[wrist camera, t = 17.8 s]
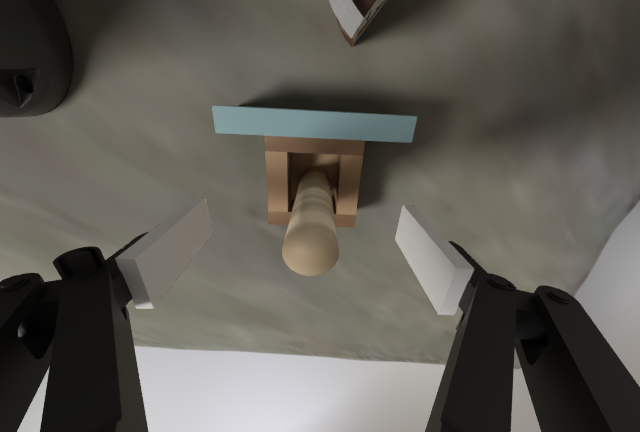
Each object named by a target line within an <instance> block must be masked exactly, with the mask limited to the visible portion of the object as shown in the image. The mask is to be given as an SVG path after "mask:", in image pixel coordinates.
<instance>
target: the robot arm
mask: <svg viewBox="0 0 640 432" xmlns="http://www.w3.org/2000/svg"><path fill="white" fill-rule="evenodd" d="M71 72H72V59H71V50H70V45H69V41H68V37H67V33H66V30H65V27H64V24H63V22H62V19H61V17H60V14H59V12H58V10H57V8H56V6H55V4H54V2H53V0H0V117H28V116H36V115H40V114H43V113H46V112H48V111H50V110H51V109H53V108H54V107H55V106H57V105H58V104H59V103H60V101H61V100H62V99H63V97H64V96H65V94H66V92H67V90H68V87H69V84H70V79H71ZM212 234H213V232H212V226H211V221H210V216H209V210H208V205H207V199H206V197H193V198H192V199H191V200H190V201H188V202H187V203H186V204H184V205H183V206H182V207H181V208H179V209H178V210H177V211H175V212H174V213H173V214H172V215H170V216H169V217H168V218H166V219H165V220H164V221H163V222H161V223H160V224H159V225H157V226H156V227H155V228H154V229H152V230H151V231H150V232H146V233H144V234H142V235H140V236H138V237H136V238H135V239H133V240H132V241H131V242H129V244H127V245H125V246H124V247H123V249H120V250H119V251H117V252H116V253H115V254H113V255H112V256H111V257H109V258H108V259H107V260H105V259H104V257H103V255H102V252H101V250H100V249H99V248H98V247H83V248H78V249H74V250H71V251H68V252H66V253H64V254H62V255H60V256H59V257H57V258H56V259H55V260H54V261H53V264H54V266H55V268H56V269H57V271H58V273H59V274H60V276H61V278H62V280H55V281H49V282H44V280H43V279H42V277H41V276H40V275H39V274H38V273H27V274H21V275H16V276H12V277H10V278H7V279H4V280H2V281H1V282H0V432H17V430H18V428H19V426H20V424H21V422H22V420H23V418H24V416H25V414H26V412H27V410H28V408H29V406H30V404H31V402H32V400H33V398H34V396H35V394H36V392H37V390H38V388H39V386H40V384H41V382H42V380H43V378H44V376H45V374H46V372H47V370H48V368H49V366H50V368H49V375H48V382H47V388H46V395H45V402H44V408H43V415H42V422H41V429H40V432H148V427H147V421H146V416H145V409H144V404H143V397H142V392H141V386H140V380H139V373H138V367H137V362H136V356H135V349H134V343H133V337H132V331H131V325H130V319H129V313H128V310H127V308H126V305H127V304H128V302H129V301H130V300H131V299H132V300H133V302H134V304H135V307H136V308H143V309H154V308H155V306H156V305H157V304H158V303H159V301H160V300H161V299H162V298H163V296H164V295H165V294H166V292H167V291H168V290H169V289H170V287H171V286H172V285H173V283H174V282H175V281H176V280H177V278H178V277H179V276H180V275H181V273H182V272H183V271H184V269H185V268H186V267H187V266H188V264H189V263H190V262H191V261H192V259H193V258H194V257H195V255H196V254H197V253H198V252H199V250H200V249H201V248H202V247H203V245H204V244H205V243H206V241H207V240H208V239H209V238H210V236H211V235H212ZM395 240H396V242H397V244H398V245H399V247H400V249H401V251H402V252H403V254H404V256H405V258H406V259H407V261H408V263H409V265H410V266H411V268H412V270H413V271H414V273H415V275H416V277H417V278H418V280H419V282H420V284H421V285H422V287H423V289H424V291H425V292H426V294H427V296H428V298H429V299H430V301H431V303H432V304H433V306H434V308H435V310H436V311H437V313H438V315H455V312H456V310H457V308H458V305H459V307H460V308H461V310H462V311H463V315H462V317H461V319H460V321H459V323H458V325H457V328H456V330H457V332H456V335H455V338H454V342H453V345H452V348H451V351H450V354H449V357H448V361H447V364H446V367H445V370H444V373H443V376H442V380H441V383H440V386H439V389H438V392H437V396H436V399H435V402H434V405H433V408H432V411H431V415H430V418H429V421H428V424H427V427H426V430H425V432H510V431H511V410H512V389H513V368H514V347H515V349H516V352H517V355H518V358H519V361H520V365H521V368H522V371H523V374H524V377H525V381H526V384H527V387H528V390H529V394H530V396H531V400H532V403H533V406H534V410H535V413H536V416H537V419H538V422H539V425H540V429H541V432H640V387H639V386H638V384H637V383H636V381H635V380H634V379H633V377H632V376H631V374H630V373H629V372H628V370H627V369H626V368H625V366H624V365H623V363H622V362H621V360H620V359H619V358H618V356H617V355H616V353H615V352H614V351H613V349H612V348H611V346H610V345H609V344H608V342H607V341H606V339H605V338H604V337H603V335H602V334H601V332H600V331H599V330H598V328H597V327H596V325H595V324H594V323H593V321H592V320H591V318H590V317H589V316H588V314H587V313H586V312H585V310H584V309H583V307H582V306H581V304H580V303H579V302H578V301H577V300H576V299H575V298H574V297H572V296H571V295H569V294H568V293H566V292H565V291H563V290H560V289H557V288H554V287H550V286H545V285H544V286H539V287H538V288H537V289H536V290H535V292H534V293H529V292H525V291H521V290H517V289H516V287H515V286H514V285H513V284H512V283H511V282H509V281H508V280H507V279H505V278H503V277H500V276H498V275H494V274H489V273H487V272H486V271H485V270H484V269H483V268H482V267H481V266H480V265H479V264H478V263H477V262H476V261H475V260H474V259H472V257H471V256H470V255H469V254H467V252H466V251H465V250H464V249H463V248H462V247H461V246H459V245H457V244H456V243H454V242H452V241H447V239H446V238H445V237H444V236H443V235H442V234H441V233H440V232H439V231H438V230H437V229H436V228H435V227H434V226H433V225H432V224H431V223H430V222H429V221H428V220H427V218H426V217H425V216H424V215H423V214H422V213H421V212H420V211H419V210H418V209H417V208H416V207H415V206H414V205H403V207H402V211H401V215H400V220H399V224H398V229H397V233H396V237H395Z"/></svg>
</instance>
